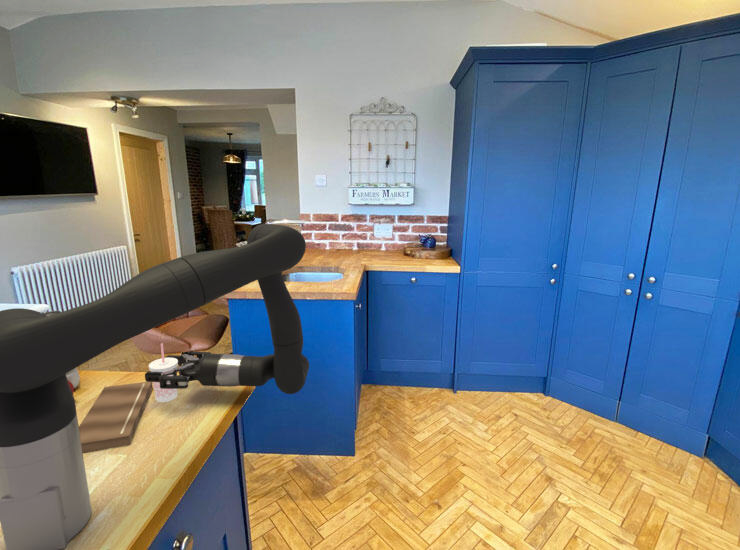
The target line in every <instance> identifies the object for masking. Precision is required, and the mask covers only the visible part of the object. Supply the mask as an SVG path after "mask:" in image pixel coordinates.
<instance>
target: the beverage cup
mask: <svg viewBox="0 0 740 550" xmlns="http://www.w3.org/2000/svg"><path fill="white" fill-rule="evenodd" d="M160 349H161V351H160V353H161V358H157V359H155V360H153V361H151V362H150V363H149V364H148V370H149V372H167V371H171V370H172V369H173V368H176V367H178V366H179V365H178V360H177V359H176V358H166V357H165V353H164V352H165V351H164V343H163V342H161V343H160ZM168 376H173V375H168ZM168 384H170V383H168ZM152 387H153V390H154V391H153V392H154V396H155V397H154V398H155V401H156V402H158V403H167V402H171V401H173V400H175V399H176V398H177V397H178V389H161V388H160V382H152Z"/></svg>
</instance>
